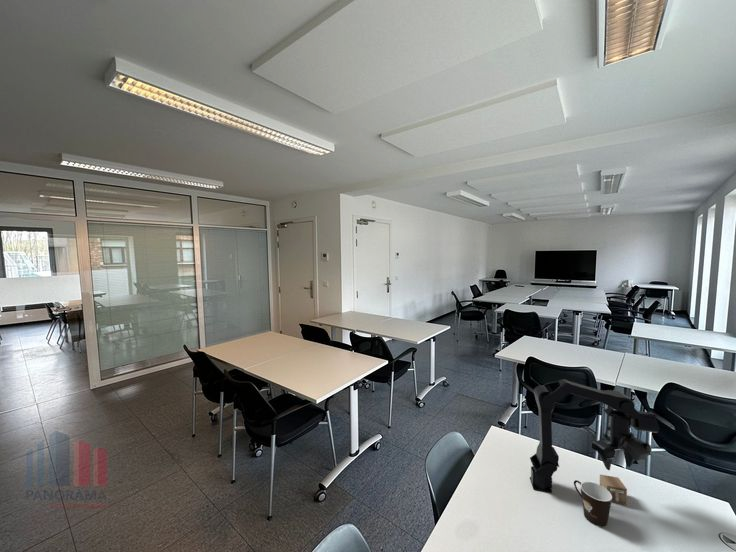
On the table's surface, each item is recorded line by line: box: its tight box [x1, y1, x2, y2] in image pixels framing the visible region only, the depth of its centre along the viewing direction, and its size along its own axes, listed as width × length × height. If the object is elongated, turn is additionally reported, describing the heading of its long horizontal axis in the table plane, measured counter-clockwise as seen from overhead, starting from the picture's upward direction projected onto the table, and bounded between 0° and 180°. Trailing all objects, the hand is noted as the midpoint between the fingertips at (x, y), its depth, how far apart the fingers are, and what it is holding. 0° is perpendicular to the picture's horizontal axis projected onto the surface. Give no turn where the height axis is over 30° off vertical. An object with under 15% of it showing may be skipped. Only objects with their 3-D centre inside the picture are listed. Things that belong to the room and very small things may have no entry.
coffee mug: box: [573, 479, 612, 528], centre depth 102 cm, size 12×9×10 cm
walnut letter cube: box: [599, 474, 628, 506], centre depth 110 cm, size 6×6×6 cm
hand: (618, 468), depth 109 cm, fingers open, 9 cm apart
